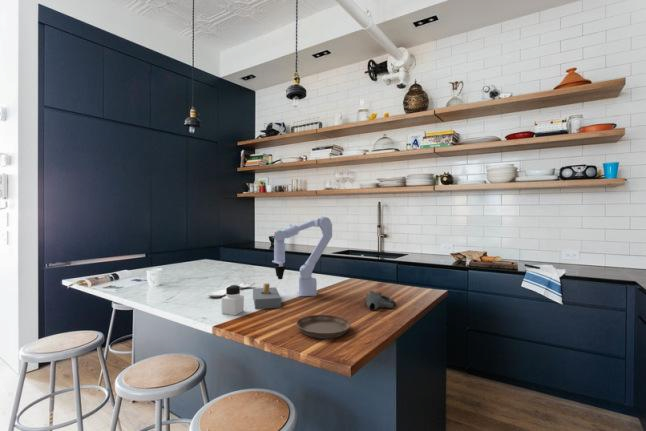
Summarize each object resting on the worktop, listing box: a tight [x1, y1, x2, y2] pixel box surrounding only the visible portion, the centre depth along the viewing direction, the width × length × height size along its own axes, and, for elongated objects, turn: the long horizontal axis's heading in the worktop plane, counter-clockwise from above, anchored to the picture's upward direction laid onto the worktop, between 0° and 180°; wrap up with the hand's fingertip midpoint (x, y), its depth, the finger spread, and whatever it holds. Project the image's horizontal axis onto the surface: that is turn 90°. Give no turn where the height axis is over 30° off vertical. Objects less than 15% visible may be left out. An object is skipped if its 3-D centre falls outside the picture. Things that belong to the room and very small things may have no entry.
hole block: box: [252, 287, 282, 310], centre depth 170 cm, size 12×22×4 cm, turn 14°
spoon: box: [206, 280, 256, 298], centre depth 189 cm, size 9×32×4 cm, turn 153°
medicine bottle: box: [221, 284, 245, 316], centre depth 152 cm, size 7×7×12 cm
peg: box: [262, 282, 270, 294], centre depth 170 cm, size 3×3×9 cm
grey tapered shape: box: [363, 290, 397, 311], centre depth 168 cm, size 5×25×15 cm
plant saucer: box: [296, 314, 351, 339], centre depth 131 cm, size 21×21×3 cm
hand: (279, 277), depth 183 cm, fingers open, 7 cm apart
